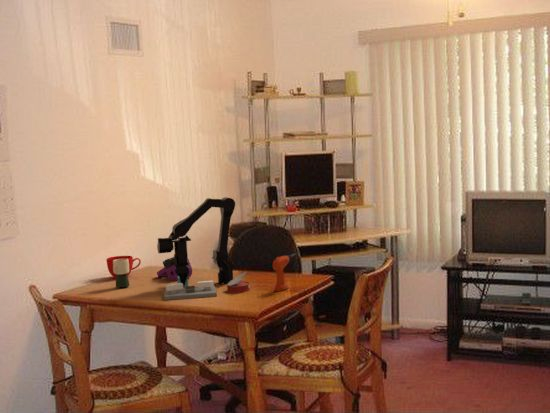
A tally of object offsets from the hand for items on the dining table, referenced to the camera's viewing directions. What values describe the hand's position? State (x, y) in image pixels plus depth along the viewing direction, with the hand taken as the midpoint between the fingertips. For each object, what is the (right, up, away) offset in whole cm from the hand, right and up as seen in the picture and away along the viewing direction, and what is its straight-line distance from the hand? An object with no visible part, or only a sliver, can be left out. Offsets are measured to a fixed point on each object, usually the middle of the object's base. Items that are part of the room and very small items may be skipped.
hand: (183, 285), depth 328 cm
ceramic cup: (-34, 0, +35) cm, 49 cm away
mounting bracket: (-8, 0, +25) cm, 27 cm away
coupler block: (0, -1, 0) cm, 1 cm away
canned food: (+26, -1, -13) cm, 29 cm away
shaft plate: (+5, -2, -16) cm, 17 cm away
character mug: (-29, -2, +7) cm, 30 cm away
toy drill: (+47, 0, -12) cm, 48 cm away
